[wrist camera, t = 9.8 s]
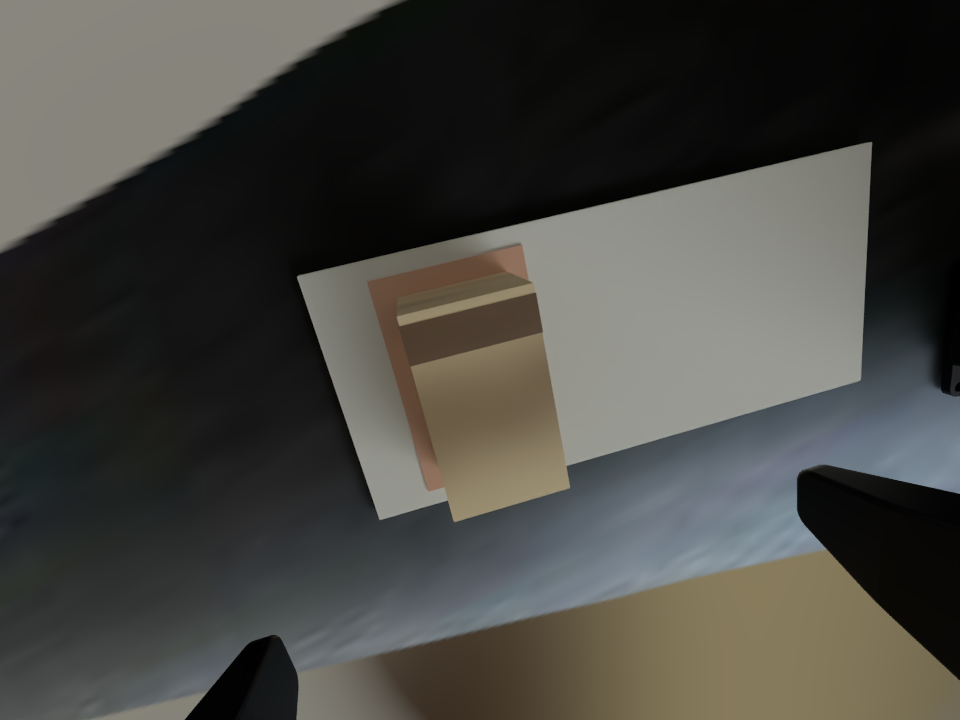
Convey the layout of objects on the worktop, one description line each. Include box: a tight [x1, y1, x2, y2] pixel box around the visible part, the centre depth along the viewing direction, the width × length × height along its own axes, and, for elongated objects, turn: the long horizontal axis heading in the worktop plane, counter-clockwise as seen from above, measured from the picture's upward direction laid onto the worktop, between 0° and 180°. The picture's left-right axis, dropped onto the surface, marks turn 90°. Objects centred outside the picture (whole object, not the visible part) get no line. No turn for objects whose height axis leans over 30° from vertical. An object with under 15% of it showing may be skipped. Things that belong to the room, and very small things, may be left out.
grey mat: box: [297, 142, 872, 520], centre depth 18 cm, size 22×10×1 cm, turn 102°
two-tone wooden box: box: [397, 271, 570, 522], centre depth 16 cm, size 7×4×4 cm, turn 12°
